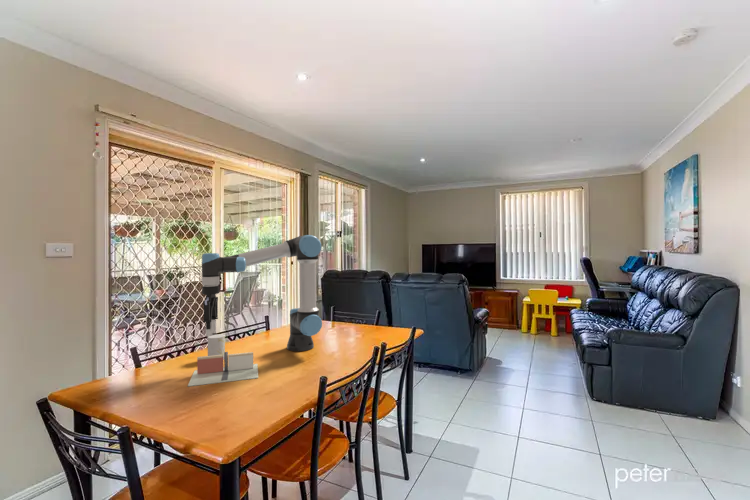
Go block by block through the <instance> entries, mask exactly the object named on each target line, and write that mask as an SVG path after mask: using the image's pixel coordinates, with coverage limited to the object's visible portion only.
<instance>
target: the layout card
mask: <svg viewBox="0 0 750 500" xmlns="http://www.w3.org/2000/svg"><path fill="white" fill-rule="evenodd" d="M258 365H259V364H258V363H253V368H251V369H242V370H233V371H224V366H223V371H220V372H211V373H202V374H197V369H195V370H194V372H193V373H192V375H191V377H190V380H189V382H188V384H187V387H188V388H189V387H195V386H196V387H197V386H204V385H212V384H213V385H214V384H221V383H230V382H239V381H245V380H253V379H254V380H255V379H259V367H258Z"/></svg>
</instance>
